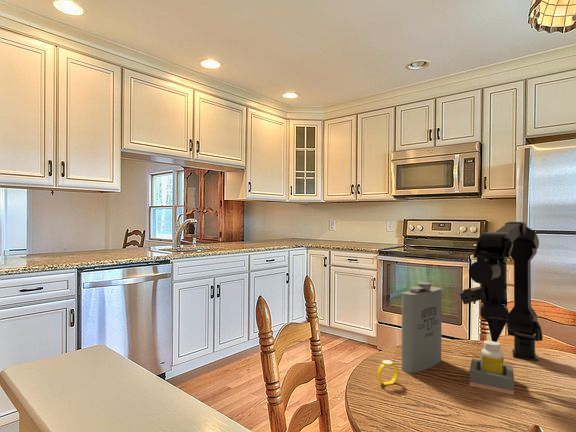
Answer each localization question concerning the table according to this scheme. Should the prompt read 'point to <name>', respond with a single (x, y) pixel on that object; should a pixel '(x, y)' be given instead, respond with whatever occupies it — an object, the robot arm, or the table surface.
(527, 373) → the table surface
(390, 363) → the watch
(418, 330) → the flask
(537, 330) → the robot arm
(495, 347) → the supplement bottle
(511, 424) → the table surface
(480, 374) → the socket block
